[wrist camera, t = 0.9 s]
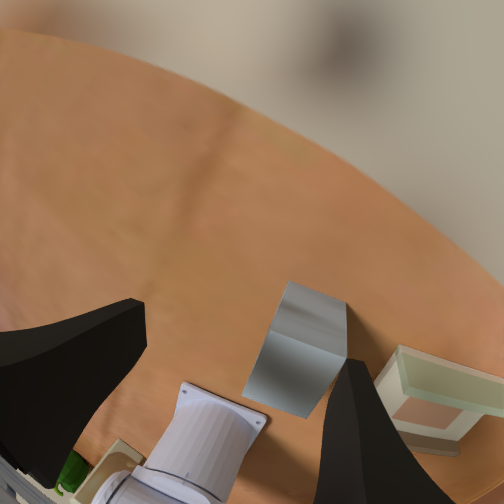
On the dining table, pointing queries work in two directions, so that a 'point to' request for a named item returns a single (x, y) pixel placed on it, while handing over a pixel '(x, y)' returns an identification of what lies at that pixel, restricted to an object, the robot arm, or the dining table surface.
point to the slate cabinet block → (300, 351)
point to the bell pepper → (72, 474)
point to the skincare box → (107, 471)
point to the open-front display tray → (436, 399)
